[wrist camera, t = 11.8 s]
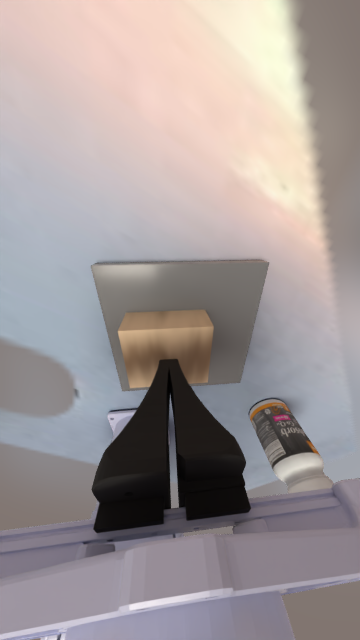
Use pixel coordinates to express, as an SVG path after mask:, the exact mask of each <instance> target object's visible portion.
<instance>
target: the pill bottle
mask: <svg viewBox="0 0 360 640" xmlns="http://www.w3.org/2000/svg"><path fill="white" fill-rule="evenodd" d="M249 416H250V420H251V422H252V425H253V427H254V429H255V431H256V433H257V436H258V438H259V440H260V442H261V445H262V447H263V449H264V451H265V453H266V456H267V458H268V460H269V462H270V465H271V467H272V469H273V471H274V473H275V475H276V476H277V477H278V478H279V479H280V480H282V481H284V482H285V483H286V484H287V486H288V493H296V492H304V491H311V490H319V489H327V488H331V487H332V485H333V484H334V483H333V482H332V480H331V479H329V477H327V476H326V475H325V474H324V472H323V468H324V463H323V460H322V458H321V456H320V454H319V453H318V451H317V450H316V449H315V447H314V446H313V444H312V443H311V441H310V440H309V438H308V437H307V435H306V434H305V433H304V431H303V430H302V428H301V426H300V425H299V424H298V422H297V420H296V419H295V418H294V416H293V415H292V413H291V412H290V410H289V409H288V407H287V406H286V405H285V403H283V402H282V401H280V400H276V399H270V400H265V401H262V402H260V403H258V404H256V405H255V406H254V407H253V408H252V409H251V411H250V414H249Z"/></svg>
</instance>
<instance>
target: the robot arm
mask: <svg viewBox="0 0 360 640" xmlns="http://www.w3.org/2000/svg"><path fill="white" fill-rule="evenodd" d="M170 394H171V402H172V409H173V417H174V425H175V441H176V459H177V478H178V497H179V508H172V509H171V498H170V497H171V496H170V464H169V444H170V440H169V404H170ZM107 417H108V420H109V422H110V425H111V428H112V431H113V438H112V443H111V444H110V445H109V446H108V448H107V449H106V450H105V452H104V454H103V456H102V459H101V461H100V463H99V466H98V469H97V472H96V475H95V479H94V482H93V486H92V492H93V494H94V496H95V497H96V499H97V504H96V508H95V511H93V512H92V516H91V519H88V520H80V521H73V522H65V523H58V524H50V525H42V526H34V527H26V528H18V529H11V530H3V531H0V640H30V639H35V638H41V640H295V637H294V634H293V630H292V627H291V625H290V621H289V618H288V615H287V612H286V609H285V606H284V602H283V599H282V596H281V595H285V594H290V593H296V592H301V591H306V590H312V589H316V588H322V587H328V586H333V585H338V584H343V583H348V582H354V581H360V478H356V479H348V480H341V481H338V482H336V483H334V484H333V485H332V487H331V488H327V489H319V490H311V491H304V492H296V493H288V494H281V495H273V496H266V497H257V498H250V499H248V497H247V493H246V490H245V487H244V486H245V481H244V478H243V475H242V473H243V470H244V468H245V465H246V461H245V457H244V455H243V453H242V450H241V448H240V446H239V444H238V443H237V441H236V439H235V437H234V436H233V435H231V434H230V433H229V432H228V431H227V430H226V429H225V428H224V427H223V426H222V425H221V424H220V423H219V422H218V421H217V420H216V419H215V418H214V417H213V415H212V414H211V413H210V412H209V411H208V410H207V409H206V407H205V406H204V405H203V404H202V402H201V401H200V400H199V398H198V397H197V396H196V394H195V393H194V391H193V390H192V388H191V386H190V385H189V383H188V381H187V379H186V378H185V376H184V374H183V372H182V369H181V367H180V364H179V361H178V359H163V360H160V361H159V364H158V368H157V371H156V374H155V376H154V379H153V381H152V383H151V386H150V388H149V390H148V392H147V394H146V395H145V397H144V399H143V401H142V402H141V404H140V406H139V407H138V409H137V410H127V411H115V412H109V413H108V416H107ZM234 525H236V526H234ZM227 526H233V534H221V535H220V534H201V535H193V536H186V537H184V535H183V533H184V532H192V531H199V530H206V529H213V528H220V527H227Z"/></svg>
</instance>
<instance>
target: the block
mask: <svg viewBox="0 0 360 640" xmlns="http://www.w3.org/2000/svg"><path fill="white" fill-rule="evenodd" d="M213 329H214V326H213V324H212V322H211V320H210V318H209V316H208V314H207V313H206V311H205V310H182V311H157V312H133V313H126V314H125V316H124V318H123V321H122V323H121V325H120V327H119V329H118V335H119V339H120V344H121V348H122V353H123V358H124V362H125V367H126V372H127V376H128V381H129V385H130V388H140V387H150V386H151V383H152V381H153V379H154V376H155V374H156V371H157V368H158V364H159V361H160V360H163V359H178V361H179V364H180V367H181V369H182V372H183V374H184V376H185V378H186V379H187V381H188V383H189V384H194V383H208V375H209V365H210V356H211V347H212V338H213Z"/></svg>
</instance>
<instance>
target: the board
mask: <svg viewBox="0 0 360 640" xmlns="http://www.w3.org/2000/svg"><path fill="white" fill-rule="evenodd" d="M268 266H269V262H267V261H263V260H235V261H180V262H126V263H95V264H93V265H91V269H92V273H93V277H94V281H95V285H96V289H97V293H98V297H99V301H100V305H101V309H102V313H103V317H104V320H105V324H106V328H107V332H108V336H109V340H110V344H111V348H112V352H113V356H114V360H115V364H116V368H117V372H118V376H119V380H120V384H121V388H122V391H135V390H148V389H149V388H150V387H140V388H130V385H129V381H128V376H127V372H126V367H125V362H124V358H123V353H122V348H121V344H120V339H119V335H118V329H119V327H120V325H121V323H122V321H123V318H124V316H125V314H126V313H133V312H157V311H182V310H205V311H206V313H207V314H208V316H209V318H210V320H211V322H212V324H213V326H214V329H213V338H212V347H211V356H210V365H209V375H208V383H194V384H189V385H190V386H201V385H214V384H228V383H240V381H241V377H242V372H243V368H244V364H245V360H246V356H247V352H248V348H249V344H250V340H251V335H252V331H253V327H254V323H255V319H256V315H257V311H258V307H259V303H260V298H261V294H262V290H263V286H264V282H265V278H266V274H267V270H268Z"/></svg>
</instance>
